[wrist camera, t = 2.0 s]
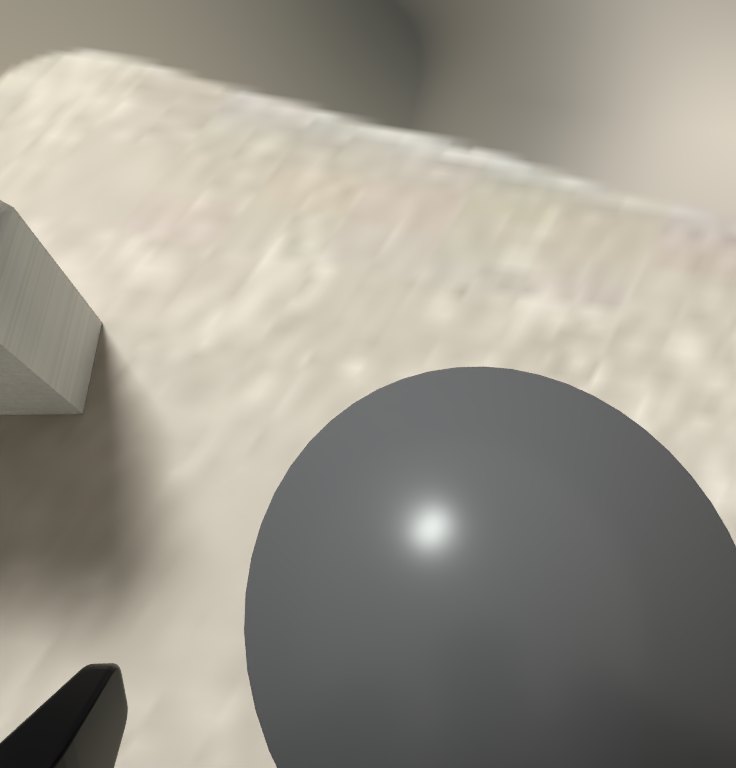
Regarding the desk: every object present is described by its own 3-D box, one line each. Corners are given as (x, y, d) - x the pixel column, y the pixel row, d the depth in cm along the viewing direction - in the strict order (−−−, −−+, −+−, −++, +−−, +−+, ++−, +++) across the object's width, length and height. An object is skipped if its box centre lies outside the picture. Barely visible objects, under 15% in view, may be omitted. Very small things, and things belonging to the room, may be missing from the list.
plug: (488, 652, 16) (883, 707, 4) (358, 741, 14) (424, 1129, 3) (410, 520, 17) (549, 303, 6) (288, 591, 16) (164, 494, 5)
